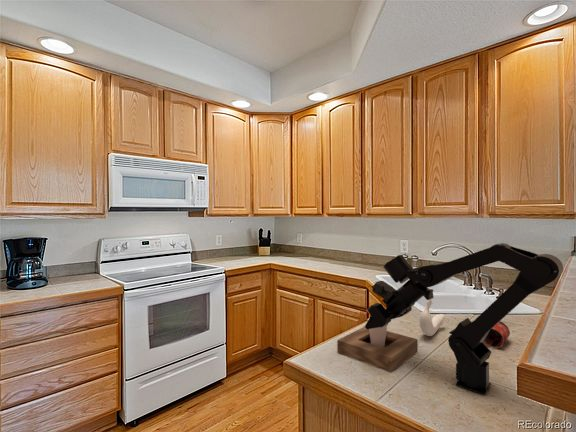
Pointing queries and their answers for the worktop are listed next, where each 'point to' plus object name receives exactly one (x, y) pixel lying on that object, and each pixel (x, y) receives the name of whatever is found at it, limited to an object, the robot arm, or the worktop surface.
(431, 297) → the robot arm
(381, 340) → the smoothie
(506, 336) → the beverage can
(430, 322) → the white curved piece
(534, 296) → the worktop surface
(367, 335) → the walnut box
